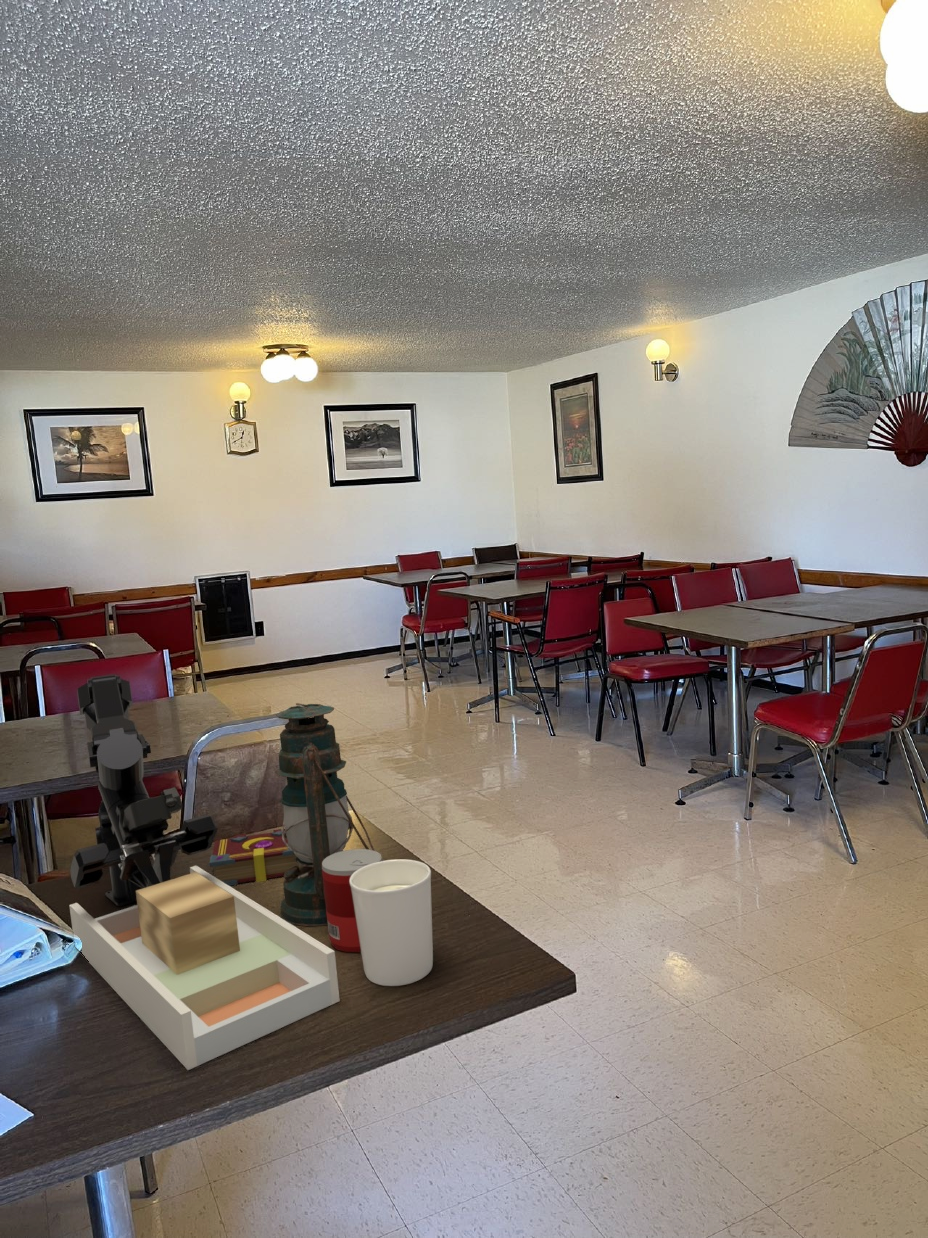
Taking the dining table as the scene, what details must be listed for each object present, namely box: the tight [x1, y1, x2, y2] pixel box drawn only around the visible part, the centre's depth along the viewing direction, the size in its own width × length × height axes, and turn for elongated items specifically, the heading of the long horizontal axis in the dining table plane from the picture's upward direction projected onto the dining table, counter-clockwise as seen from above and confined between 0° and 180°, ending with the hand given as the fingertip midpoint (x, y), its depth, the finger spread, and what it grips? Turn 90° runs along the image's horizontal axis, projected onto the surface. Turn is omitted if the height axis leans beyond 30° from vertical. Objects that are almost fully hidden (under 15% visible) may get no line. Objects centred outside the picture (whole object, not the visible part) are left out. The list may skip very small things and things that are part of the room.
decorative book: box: [208, 828, 306, 887], centre depth 146 cm, size 11×16×5 cm
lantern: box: [275, 702, 376, 927], centre depth 128 cm, size 19×14×30 cm
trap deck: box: [69, 865, 341, 1071], centre depth 112 cm, size 40×18×6 cm, turn 39°
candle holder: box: [349, 858, 434, 987], centre depth 109 cm, size 10×10×12 cm
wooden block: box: [136, 872, 240, 975], centre depth 113 cm, size 12×8×7 cm, turn 39°
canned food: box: [322, 848, 383, 953], centre depth 117 cm, size 8×8×11 cm
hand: (167, 904), depth 118 cm, fingers closed
